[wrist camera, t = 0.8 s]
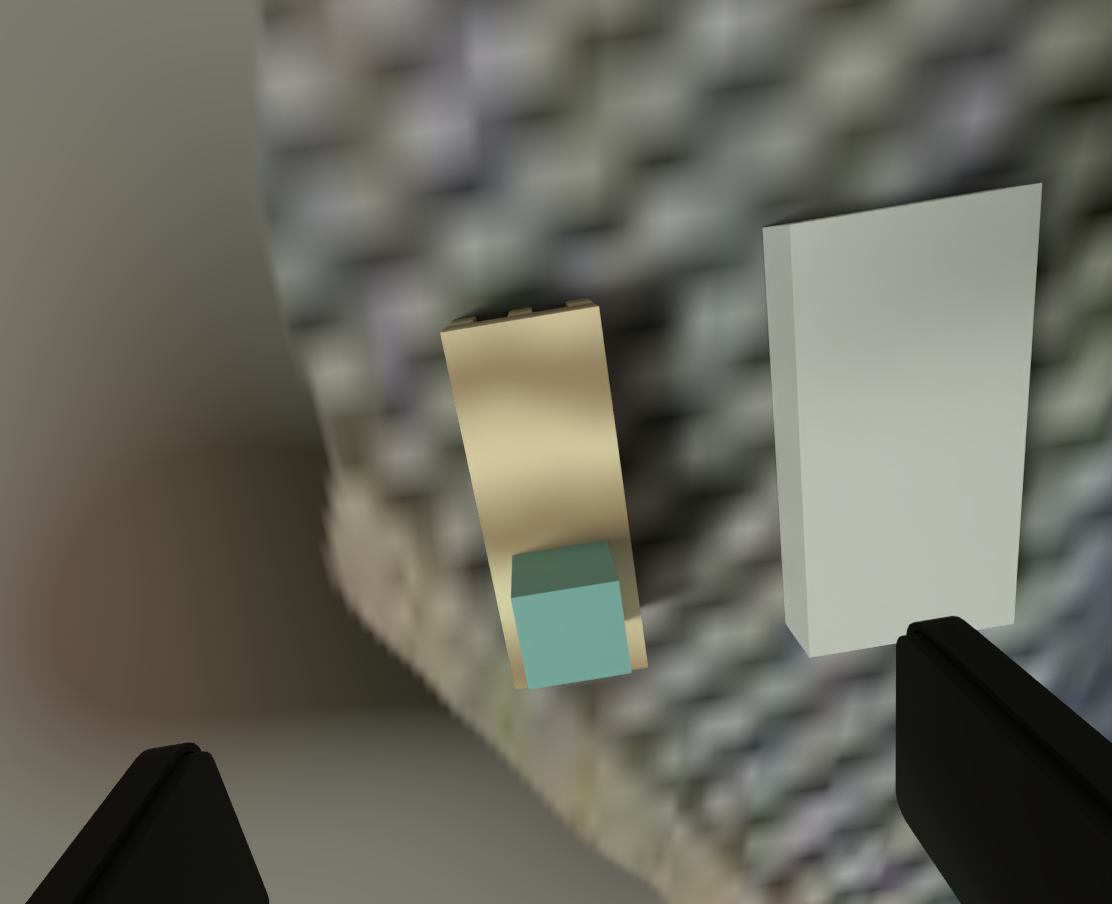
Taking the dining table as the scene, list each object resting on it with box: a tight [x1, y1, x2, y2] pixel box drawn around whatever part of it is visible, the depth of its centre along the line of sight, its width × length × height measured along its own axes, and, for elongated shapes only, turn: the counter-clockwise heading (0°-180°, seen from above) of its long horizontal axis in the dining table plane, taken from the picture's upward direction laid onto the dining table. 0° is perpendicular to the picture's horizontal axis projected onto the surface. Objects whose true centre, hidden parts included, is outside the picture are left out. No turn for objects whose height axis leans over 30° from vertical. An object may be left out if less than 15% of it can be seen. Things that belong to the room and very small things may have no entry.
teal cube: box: [511, 540, 632, 689], centre depth 26 cm, size 4×4×4 cm
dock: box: [763, 183, 1042, 657], centre depth 30 cm, size 20×10×3 cm, turn 9°
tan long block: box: [440, 298, 648, 689], centre depth 29 cm, size 16×6×5 cm, turn 9°
